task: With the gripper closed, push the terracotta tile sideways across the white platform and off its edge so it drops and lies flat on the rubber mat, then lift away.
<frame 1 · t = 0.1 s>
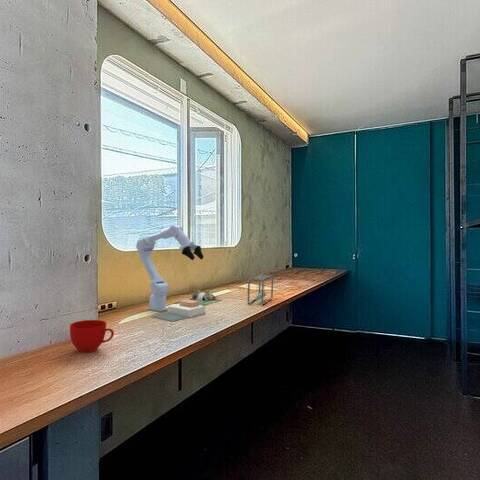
hand: (198, 258, 202), 32 cm above the counter, tool tilted 50°, fingers open, 7 cm apart
white platform: (186, 313, 210), on the counter
decorative card: (200, 302, 246), on the counter
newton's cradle: (260, 302, 253), on the counter
ceramic cup: (92, 350, 141), on the counter
mat: (169, 317, 198), on the counter
tile: (189, 303, 212), point 5 cm above the counter, touching white platform
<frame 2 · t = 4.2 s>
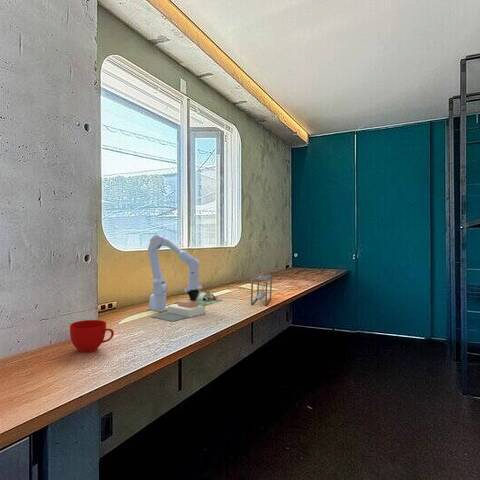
hand: (192, 302, 215), 5 cm above the counter, tool pointing down, fingers closed
tile: (187, 303, 211), point 5 cm above the counter, touching white platform, gripper
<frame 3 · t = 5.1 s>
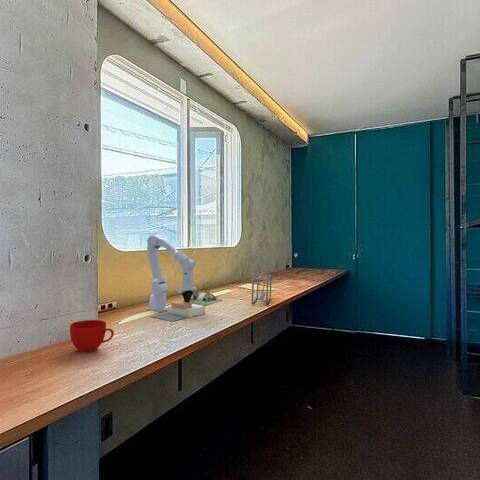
hand: (187, 304, 210), 5 cm above the counter, tool pointing down, fingers closed
tile: (181, 305, 206), point 5 cm above the counter, touching white platform, gripper
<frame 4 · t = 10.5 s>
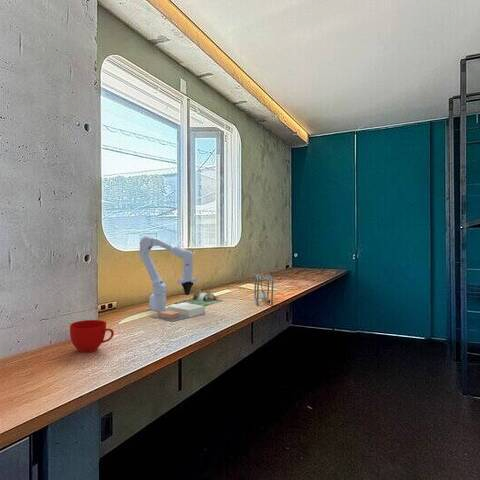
hand: (187, 294, 216), 9 cm above the counter, tool pointing down, fingers closed
tile: (169, 314, 198), point 2 cm above the counter, tilted 180°, touching mat
at the end: tile inside the target area (0.8 cm from its centre), point 1.6 cm above the counter; tile touching mat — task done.
